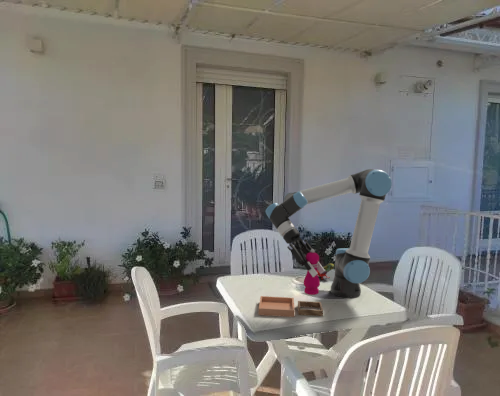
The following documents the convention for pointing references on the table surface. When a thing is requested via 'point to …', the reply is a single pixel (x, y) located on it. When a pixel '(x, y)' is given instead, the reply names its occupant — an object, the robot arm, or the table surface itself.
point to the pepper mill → (310, 281)
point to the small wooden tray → (309, 311)
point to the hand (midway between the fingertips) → (319, 273)
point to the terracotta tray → (276, 306)
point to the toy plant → (326, 270)
